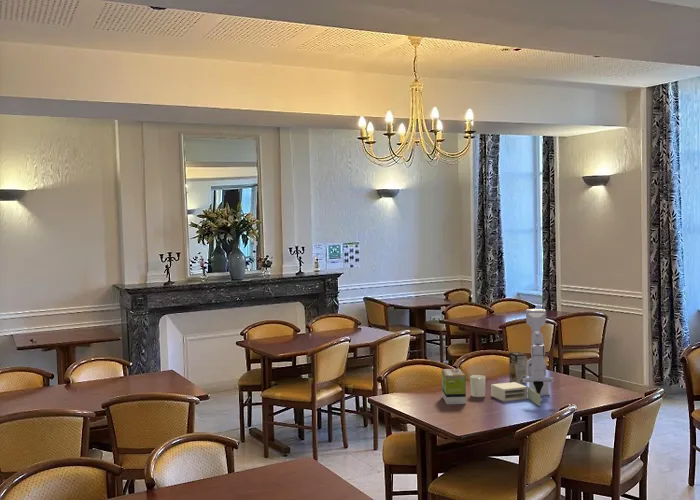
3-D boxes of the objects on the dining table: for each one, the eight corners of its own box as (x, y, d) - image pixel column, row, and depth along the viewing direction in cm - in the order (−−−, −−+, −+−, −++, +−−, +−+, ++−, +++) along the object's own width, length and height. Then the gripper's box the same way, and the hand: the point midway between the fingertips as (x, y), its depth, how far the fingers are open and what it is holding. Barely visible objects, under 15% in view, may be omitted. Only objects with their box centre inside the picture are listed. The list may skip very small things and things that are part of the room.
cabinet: (514, 393, 355) (514, 382, 355) (527, 398, 344) (527, 386, 344) (491, 395, 351) (491, 384, 351) (503, 401, 340) (503, 389, 340)
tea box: (441, 397, 350) (441, 368, 350) (461, 396, 350) (460, 368, 350) (446, 404, 335) (445, 374, 335) (466, 404, 335) (466, 374, 335)
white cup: (485, 397, 347) (485, 378, 347) (470, 397, 349) (469, 377, 348) (485, 394, 355) (485, 375, 354) (470, 393, 356) (470, 374, 356)
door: (527, 398, 344) (527, 387, 344) (531, 398, 344) (531, 387, 344) (538, 405, 329) (538, 394, 329) (542, 405, 329) (542, 394, 329)
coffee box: (509, 380, 385) (508, 352, 384) (519, 379, 386) (519, 351, 386) (516, 384, 376) (516, 355, 376) (527, 383, 378) (527, 354, 377)
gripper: (525, 371, 330) (525, 398, 330) (555, 370, 330) (555, 398, 330) (521, 368, 337) (521, 395, 337) (551, 367, 337) (551, 394, 337)
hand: (538, 396), depth 334 cm, fingers closed
